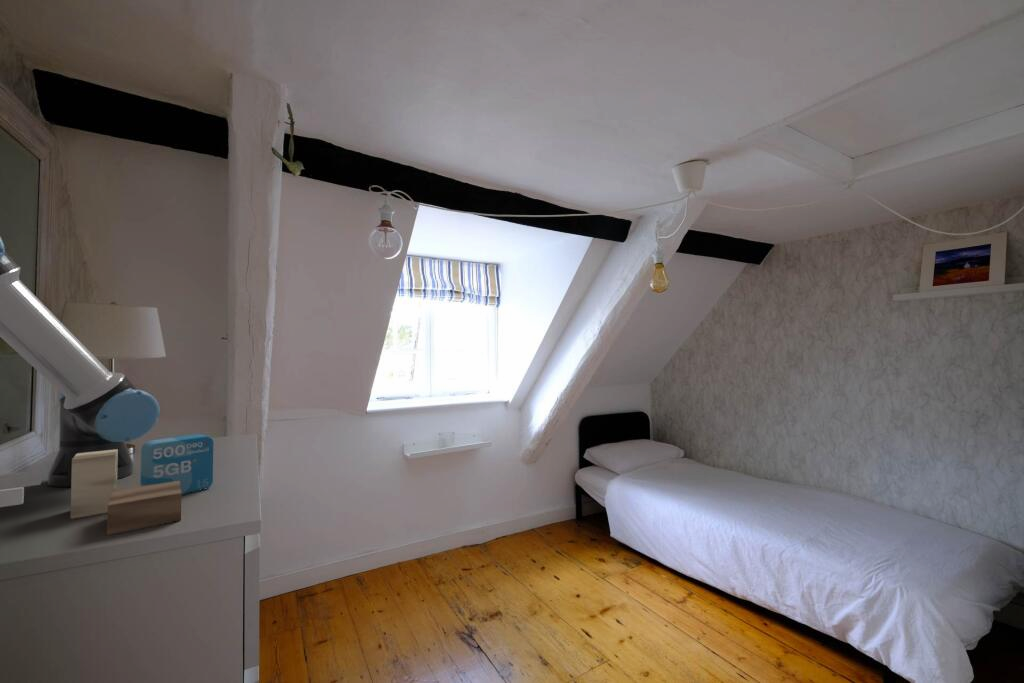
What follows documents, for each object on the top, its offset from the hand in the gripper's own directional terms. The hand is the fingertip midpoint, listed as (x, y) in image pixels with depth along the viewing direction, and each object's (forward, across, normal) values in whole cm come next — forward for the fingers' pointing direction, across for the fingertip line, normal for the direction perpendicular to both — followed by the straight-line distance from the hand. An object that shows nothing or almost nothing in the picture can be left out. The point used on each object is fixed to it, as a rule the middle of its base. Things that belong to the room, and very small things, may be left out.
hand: (32, 485), depth 80 cm
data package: (+21, -3, -7) cm, 23 cm away
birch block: (+8, 0, -6) cm, 11 cm away
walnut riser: (+16, +12, -6) cm, 21 cm away
